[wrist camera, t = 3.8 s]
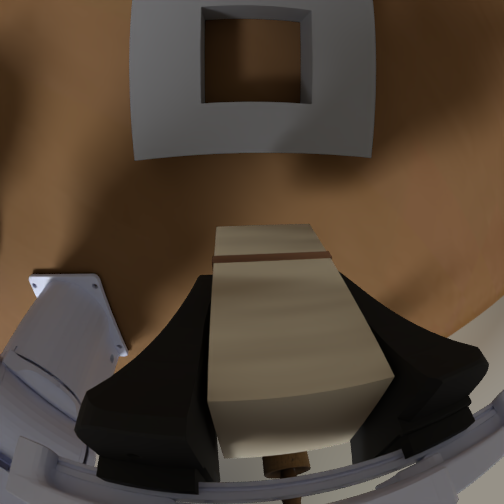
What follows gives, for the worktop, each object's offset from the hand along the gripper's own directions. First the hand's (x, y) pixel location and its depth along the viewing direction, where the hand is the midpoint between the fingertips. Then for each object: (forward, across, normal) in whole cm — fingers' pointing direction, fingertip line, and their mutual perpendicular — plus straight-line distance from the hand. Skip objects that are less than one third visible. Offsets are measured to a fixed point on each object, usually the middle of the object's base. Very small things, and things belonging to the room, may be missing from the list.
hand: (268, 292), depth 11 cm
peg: (+2, 0, 0) cm, 2 cm away
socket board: (+8, 0, -10) cm, 13 cm away
